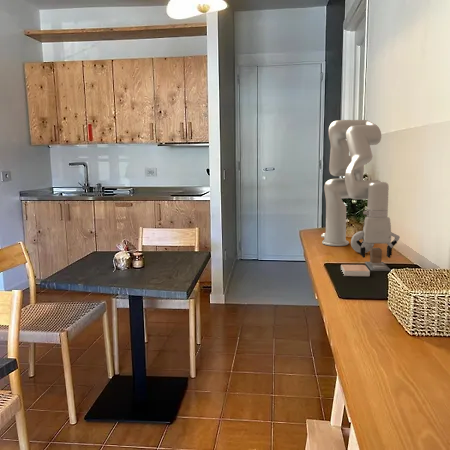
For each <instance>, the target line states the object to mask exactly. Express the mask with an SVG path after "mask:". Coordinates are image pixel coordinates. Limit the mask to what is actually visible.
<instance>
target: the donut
mask: <svg viewBox="0 0 450 450" xmlns="http://www.w3.org/2000/svg"><path fill="white" fill-rule="evenodd" d="M361 232H363V230H359V231H357V232H355V233H354V234H353V235H352V237H351V239H350V246H351V248H352V249H353V250H354V251H355V253H358V254H360V249H361V247H360V246H359V245H358V244H357V243H356V241H355V239H354V236H355V235H357V234H359V233H361ZM358 239H359V241H360V240H363V236H361V237H359V238H358ZM374 246H375V244H370V243H367V244H366V245H365V254H366V253H370V248H374Z"/></svg>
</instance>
